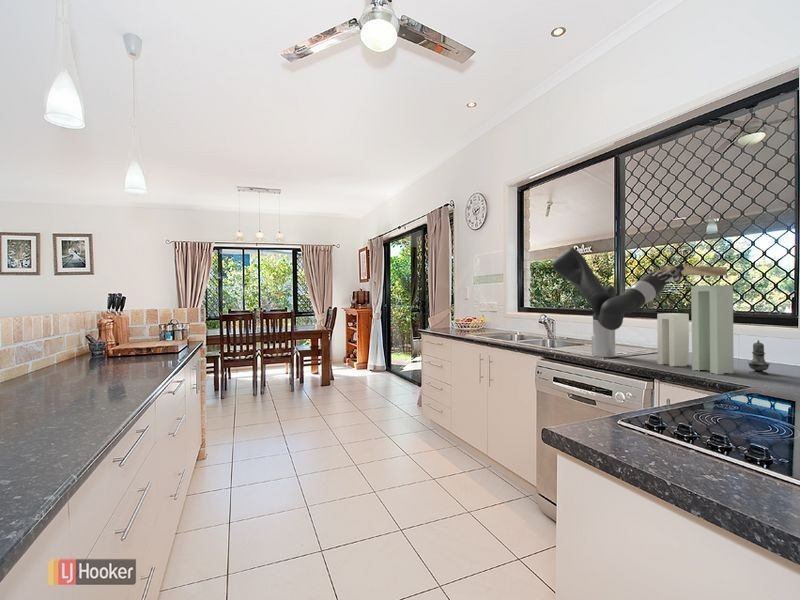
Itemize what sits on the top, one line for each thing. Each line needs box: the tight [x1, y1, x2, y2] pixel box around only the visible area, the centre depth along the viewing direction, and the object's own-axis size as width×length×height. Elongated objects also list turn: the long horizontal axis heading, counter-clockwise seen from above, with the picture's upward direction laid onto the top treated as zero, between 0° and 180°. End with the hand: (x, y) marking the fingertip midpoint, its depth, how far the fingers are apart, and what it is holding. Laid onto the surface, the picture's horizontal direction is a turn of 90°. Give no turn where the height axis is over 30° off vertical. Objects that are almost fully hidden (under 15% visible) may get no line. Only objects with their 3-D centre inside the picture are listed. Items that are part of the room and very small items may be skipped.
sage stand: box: [690, 284, 735, 375], centre depth 141 cm, size 9×8×32 cm
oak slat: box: [659, 265, 728, 277], centre depth 138 cm, size 4×28×3 cm, turn 106°
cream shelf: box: [656, 312, 690, 367], centre depth 155 cm, size 7×8×21 cm
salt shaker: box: [747, 339, 771, 376], centre depth 137 cm, size 6×6×12 cm
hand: (676, 266), depth 136 cm, fingers closed on oak slat, 3 cm apart
